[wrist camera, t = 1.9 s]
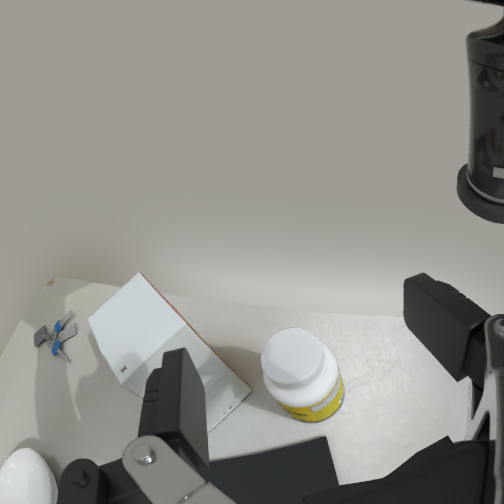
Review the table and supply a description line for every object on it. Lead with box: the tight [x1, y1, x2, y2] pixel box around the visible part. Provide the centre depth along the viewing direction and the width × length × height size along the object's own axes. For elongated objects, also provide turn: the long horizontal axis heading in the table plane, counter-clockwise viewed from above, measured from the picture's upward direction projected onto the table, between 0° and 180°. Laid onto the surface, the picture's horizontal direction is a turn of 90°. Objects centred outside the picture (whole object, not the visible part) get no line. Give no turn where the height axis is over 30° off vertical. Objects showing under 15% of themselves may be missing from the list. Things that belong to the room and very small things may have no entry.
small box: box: [88, 272, 252, 433], centre depth 25 cm, size 8×6×13 cm
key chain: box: [34, 310, 76, 362], centre depth 42 cm, size 14×8×1 cm, turn 73°
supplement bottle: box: [261, 328, 345, 423], centre depth 22 cm, size 5×5×10 cm
